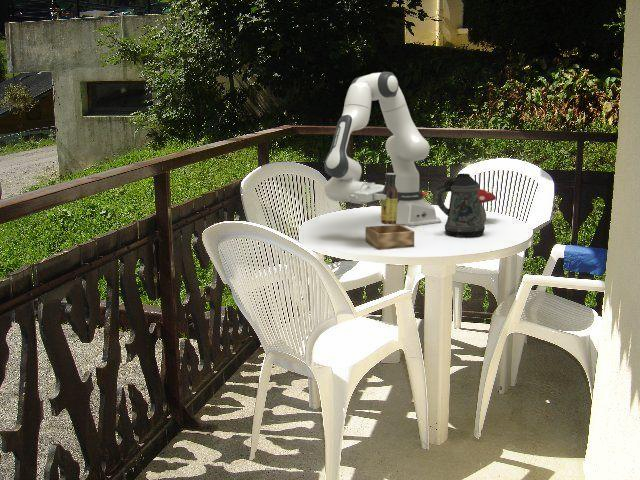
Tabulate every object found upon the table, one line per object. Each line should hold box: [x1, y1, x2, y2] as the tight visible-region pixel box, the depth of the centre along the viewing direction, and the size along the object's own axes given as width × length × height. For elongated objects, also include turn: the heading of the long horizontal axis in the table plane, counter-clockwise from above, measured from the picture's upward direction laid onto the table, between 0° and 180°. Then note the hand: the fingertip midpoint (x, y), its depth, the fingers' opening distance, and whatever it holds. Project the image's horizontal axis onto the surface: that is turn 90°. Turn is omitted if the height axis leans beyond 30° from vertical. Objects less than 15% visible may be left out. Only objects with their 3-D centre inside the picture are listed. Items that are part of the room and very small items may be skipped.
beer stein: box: [435, 173, 486, 239], centre depth 321 cm, size 16×19×25 cm
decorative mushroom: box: [478, 188, 497, 223], centre depth 347 cm, size 16×16×15 cm
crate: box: [364, 224, 415, 251], centre depth 307 cm, size 15×15×6 cm
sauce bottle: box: [380, 172, 398, 225], centre depth 304 cm, size 7×6×20 cm
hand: (391, 195), depth 303 cm, fingers closed on sauce bottle, 6 cm apart
